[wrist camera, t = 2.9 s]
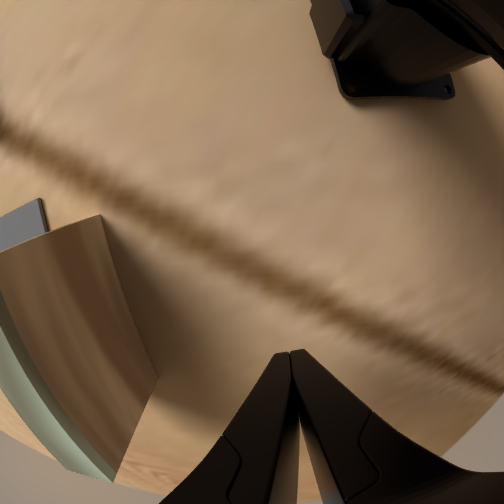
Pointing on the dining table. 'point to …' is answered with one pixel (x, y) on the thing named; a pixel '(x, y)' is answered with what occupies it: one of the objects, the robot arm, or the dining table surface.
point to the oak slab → (72, 348)
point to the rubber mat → (22, 224)
